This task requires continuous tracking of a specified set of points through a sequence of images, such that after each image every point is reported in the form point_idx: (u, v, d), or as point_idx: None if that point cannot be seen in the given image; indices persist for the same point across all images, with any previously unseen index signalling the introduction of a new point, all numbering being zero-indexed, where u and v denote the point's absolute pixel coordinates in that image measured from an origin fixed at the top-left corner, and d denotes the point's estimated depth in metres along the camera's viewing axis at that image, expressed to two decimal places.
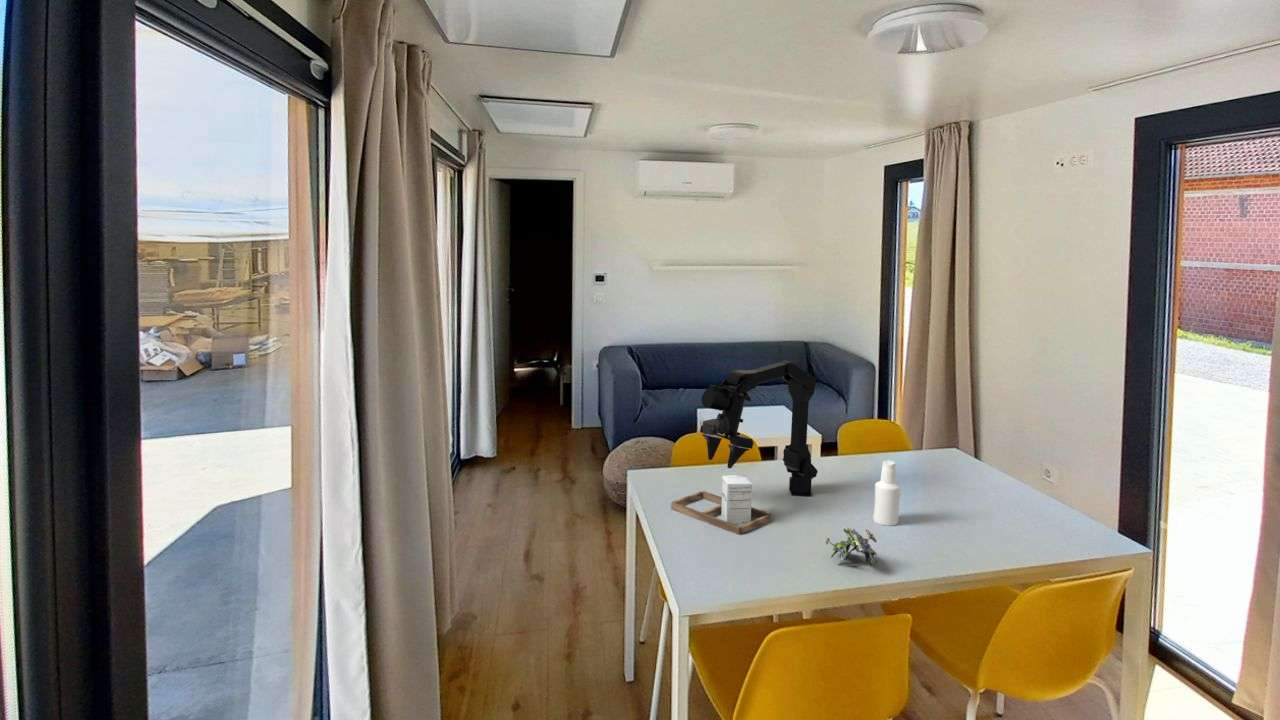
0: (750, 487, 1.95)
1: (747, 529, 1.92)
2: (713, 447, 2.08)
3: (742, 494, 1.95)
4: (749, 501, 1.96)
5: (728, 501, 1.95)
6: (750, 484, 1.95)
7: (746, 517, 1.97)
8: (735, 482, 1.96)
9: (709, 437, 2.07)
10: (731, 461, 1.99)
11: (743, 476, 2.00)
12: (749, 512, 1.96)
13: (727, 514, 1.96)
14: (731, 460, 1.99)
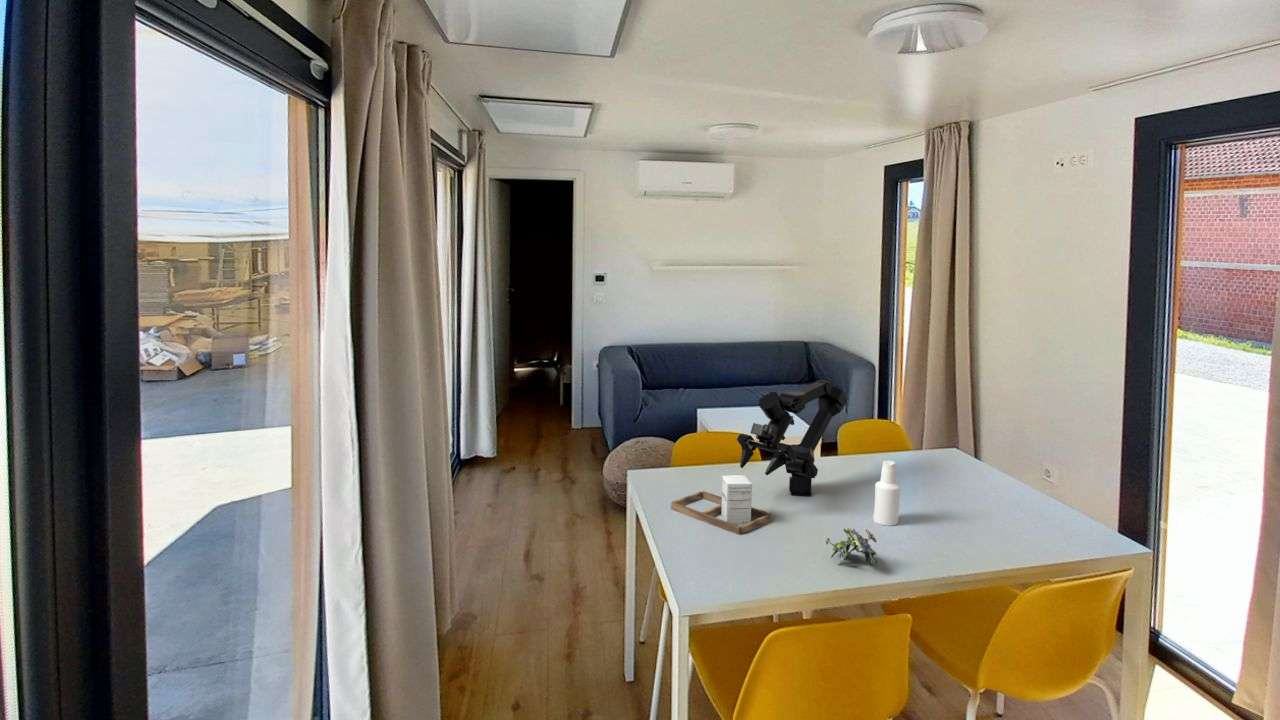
0: (750, 487, 1.95)
1: (747, 529, 1.92)
2: (746, 457, 2.08)
3: (742, 494, 1.95)
4: (749, 501, 1.96)
5: (728, 501, 1.95)
6: (750, 484, 1.95)
7: (746, 517, 1.97)
8: (735, 482, 1.96)
9: (747, 445, 2.08)
10: (771, 468, 2.00)
11: (743, 476, 2.00)
12: (749, 512, 1.96)
13: (727, 514, 1.96)
14: (771, 467, 2.00)
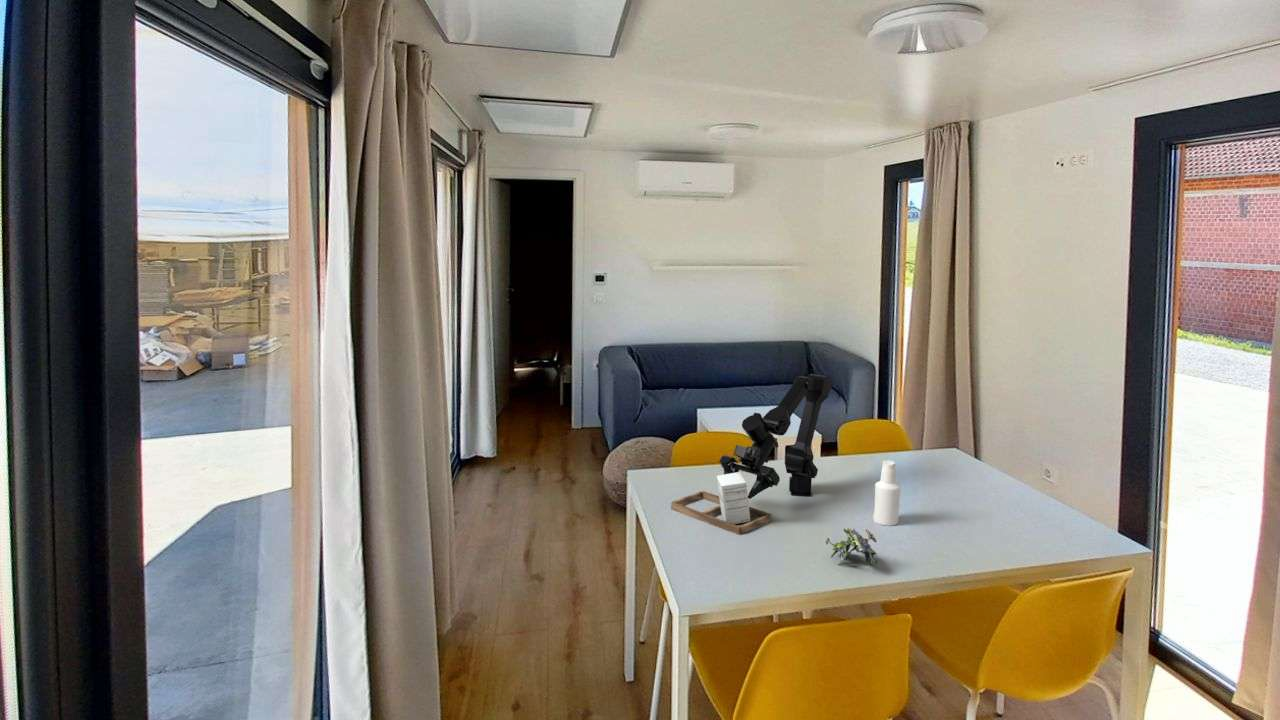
0: (745, 486, 1.94)
1: (747, 529, 1.92)
2: None
3: (738, 493, 1.94)
4: (746, 499, 1.95)
5: (725, 502, 1.95)
6: (744, 483, 1.94)
7: (744, 514, 1.96)
8: (729, 482, 1.94)
9: (729, 467, 2.04)
10: (753, 491, 1.95)
11: (738, 474, 1.99)
12: (747, 510, 1.96)
13: (725, 515, 1.96)
14: (754, 490, 1.95)
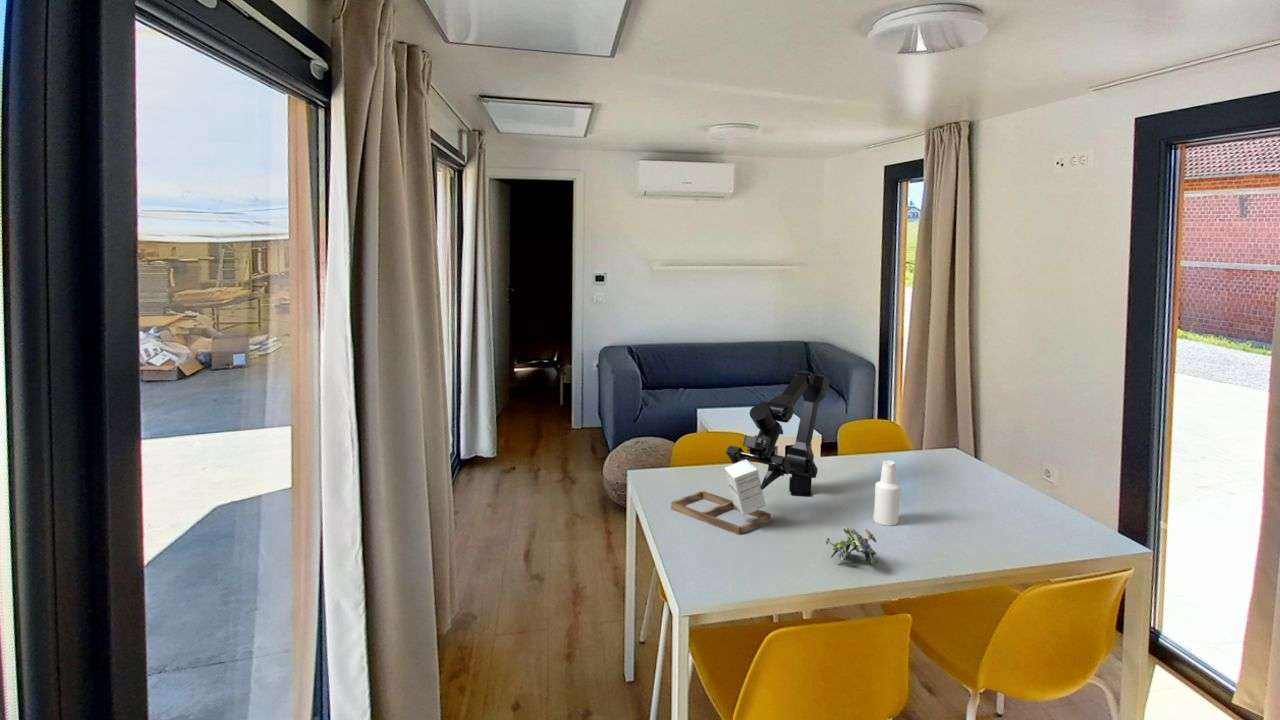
0: (756, 473, 1.90)
1: (747, 529, 1.92)
2: None
3: (751, 482, 1.90)
4: (759, 486, 1.91)
5: (739, 493, 1.90)
6: (756, 470, 1.89)
7: (759, 501, 1.93)
8: (741, 473, 1.90)
9: (737, 458, 1.99)
10: (766, 481, 1.91)
11: (745, 462, 1.94)
12: (762, 496, 1.92)
13: (741, 505, 1.91)
14: (767, 480, 1.91)
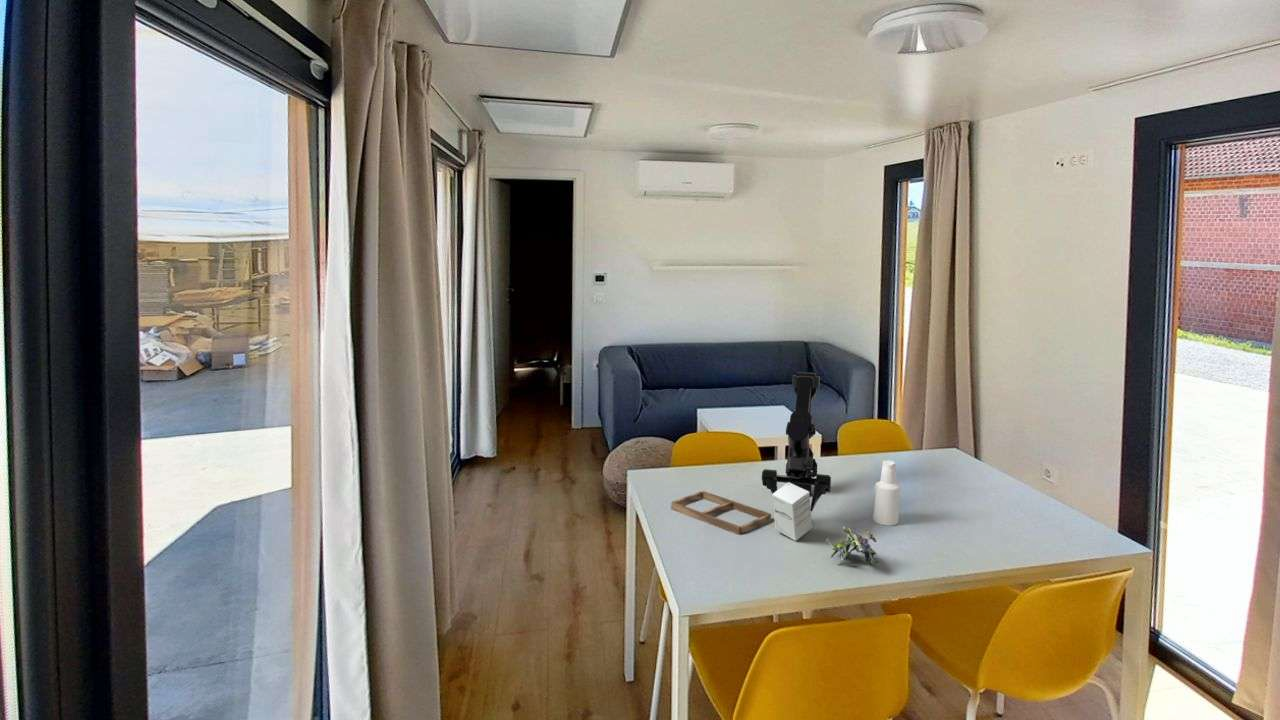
0: (809, 495, 1.84)
1: (747, 529, 1.92)
2: None
3: (804, 505, 1.84)
4: (809, 508, 1.86)
5: (794, 519, 1.83)
6: (808, 493, 1.84)
7: (808, 523, 1.87)
8: (795, 497, 1.82)
9: (776, 481, 1.91)
10: (815, 502, 1.87)
11: (791, 485, 1.87)
12: (810, 518, 1.87)
13: (795, 531, 1.84)
14: (815, 501, 1.87)
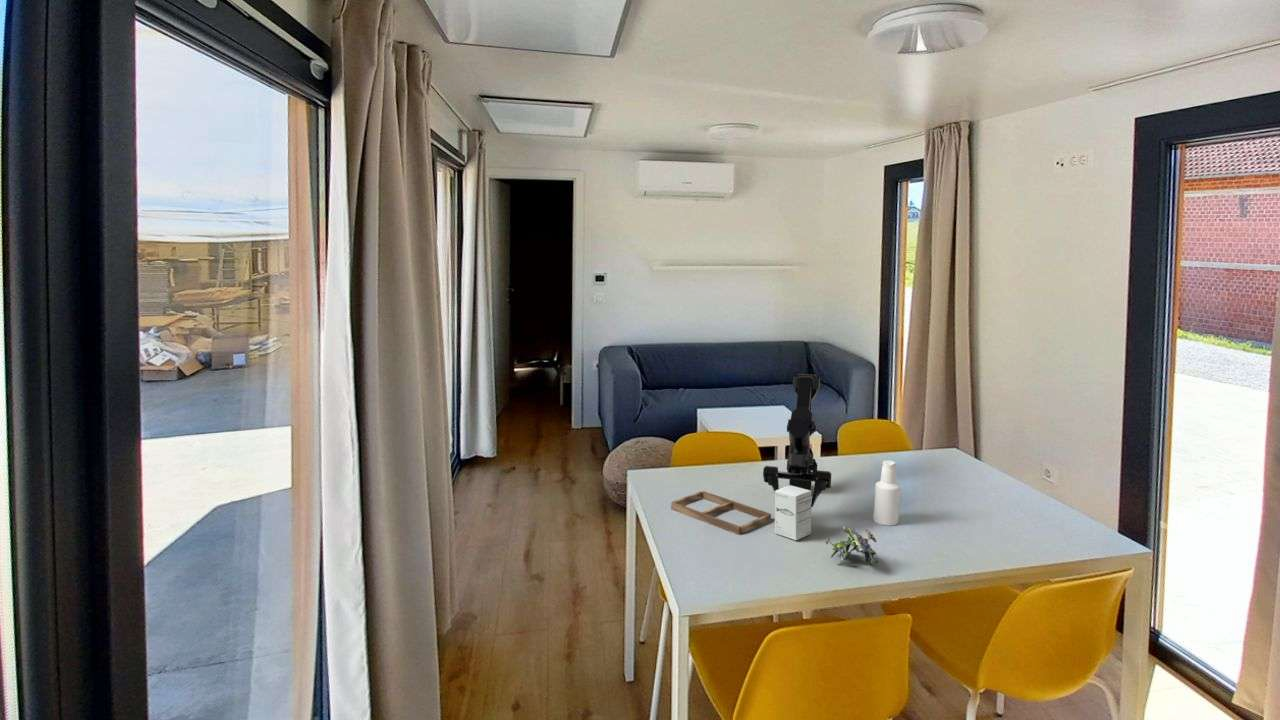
0: (810, 495, 1.88)
1: (747, 529, 1.92)
2: None
3: (806, 503, 1.87)
4: (810, 509, 1.89)
5: (796, 514, 1.85)
6: (810, 491, 1.88)
7: (808, 527, 1.89)
8: (798, 493, 1.86)
9: None
10: (815, 498, 1.90)
11: (793, 486, 1.92)
12: (810, 521, 1.89)
13: (796, 528, 1.85)
14: (815, 497, 1.90)
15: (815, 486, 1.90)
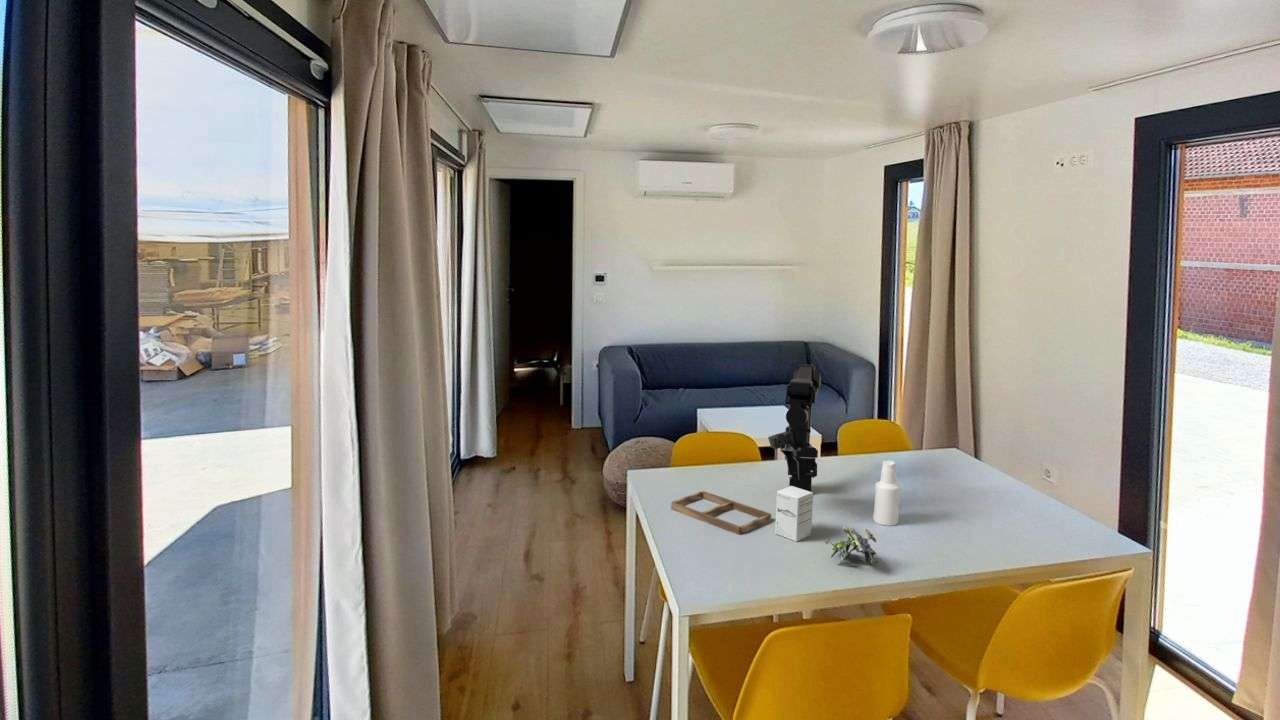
0: (812, 496, 1.88)
1: (747, 529, 1.92)
2: (792, 461, 2.05)
3: (807, 505, 1.87)
4: (811, 511, 1.89)
5: (798, 516, 1.85)
6: (812, 493, 1.88)
7: (808, 528, 1.89)
8: (800, 494, 1.86)
9: (785, 452, 2.06)
10: (800, 473, 1.95)
11: (794, 487, 1.91)
12: (810, 522, 1.89)
13: (796, 530, 1.85)
14: (800, 472, 1.95)
15: (797, 461, 1.95)
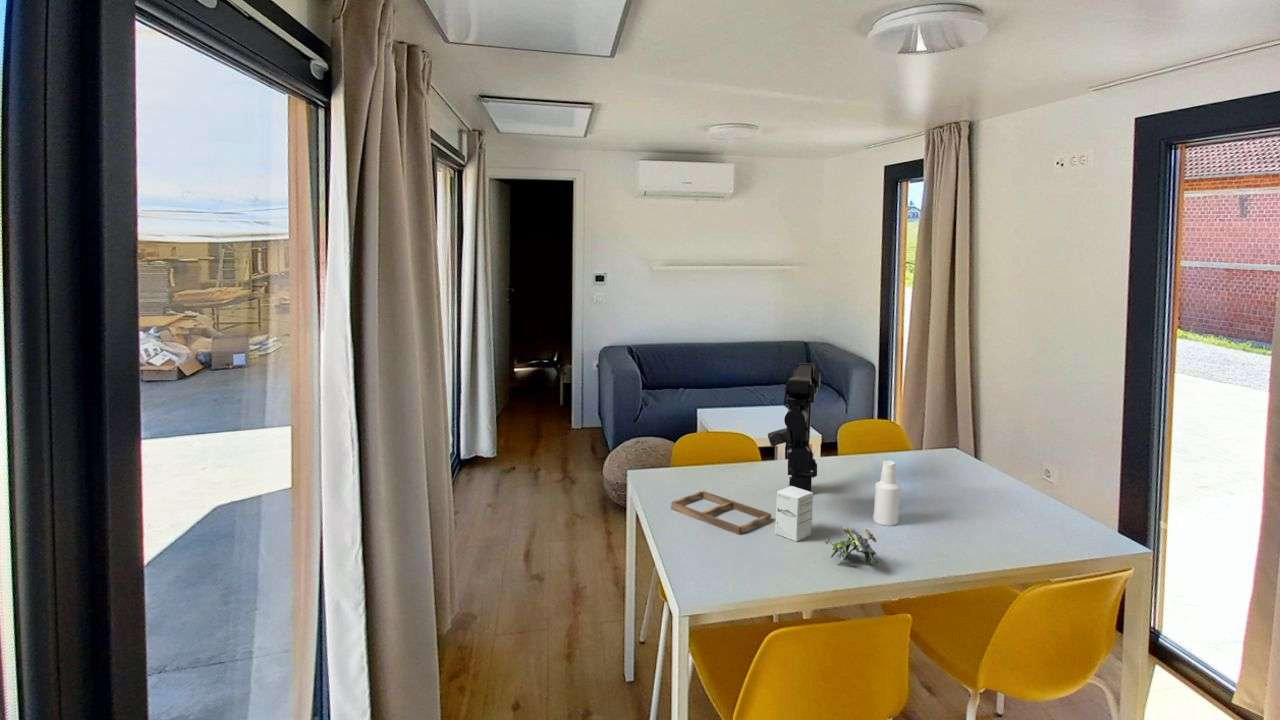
0: (812, 496, 1.88)
1: (747, 529, 1.92)
2: None
3: (807, 505, 1.87)
4: (811, 511, 1.89)
5: (798, 516, 1.85)
6: (812, 493, 1.88)
7: (808, 528, 1.89)
8: (800, 494, 1.86)
9: (789, 446, 2.06)
10: (795, 472, 1.97)
11: (794, 487, 1.91)
12: (810, 522, 1.89)
13: (796, 530, 1.85)
14: (795, 471, 1.96)
15: None
